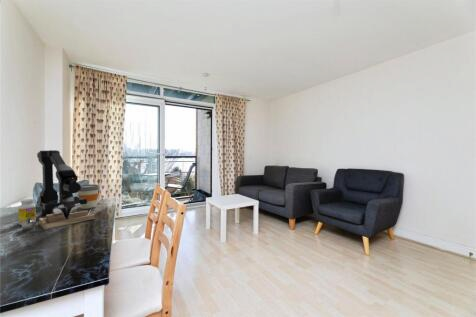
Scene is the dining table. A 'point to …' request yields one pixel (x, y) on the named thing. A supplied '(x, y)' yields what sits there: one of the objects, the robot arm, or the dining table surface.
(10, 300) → the dining table surface
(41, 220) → the bay
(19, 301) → the dining table surface
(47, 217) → the cardboard box
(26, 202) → the supplement bottle
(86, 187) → the reusable coffee cup
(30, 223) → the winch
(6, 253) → the dining table surface
